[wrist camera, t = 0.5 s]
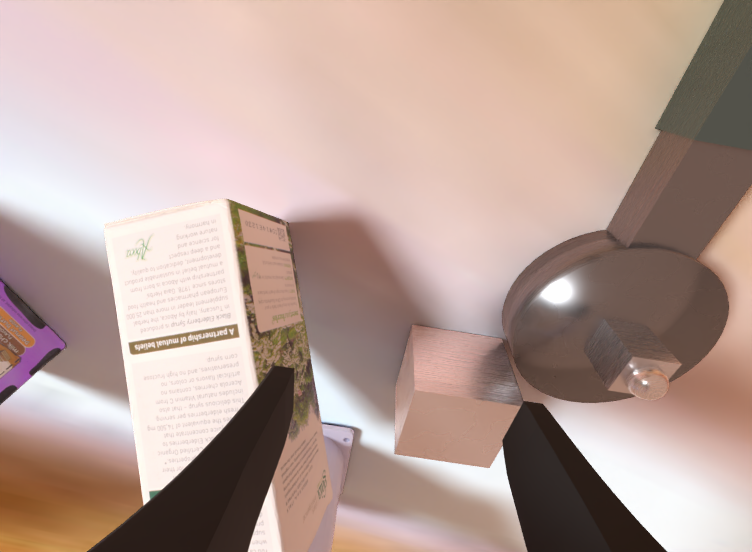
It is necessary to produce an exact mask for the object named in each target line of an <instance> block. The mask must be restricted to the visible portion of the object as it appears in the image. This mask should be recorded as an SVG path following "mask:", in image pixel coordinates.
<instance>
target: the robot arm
mask: <svg viewBox="0 0 752 552" xmlns="http://www.w3.org/2000/svg"><path fill="white" fill-rule="evenodd" d="M294 372H295V368H289V367H282V366H273V367H272V368H271V369H270V370H269V372H268V373H267V375H266V376H265V378H264V379H263V380H262V382H261V383H260V384H259V386H258V387H257V388H256V390H255V391H254V392H253V393H252V395H251V396H250V397H249V398H248V400H247V401H246V402H245V403H244V405H243V406H242V407H241V408H240V409H239V411H238V412H237V413H236V414H235V415H234V416H233V418H232V419H231V420H230V421H229V422H228V423H227V425H226V426H225V427H224V428H223V429H222V430H221V431H220V432H219V433H218V434H217V435H216V437H215V438H214V439H213V440H212V441H211V442H210V443H209V444H208V445H207V446H206V447H205V448H204V449H203V450H202V451H201V452H200V453H199V454H198V456H197V457H196V458H195V459H193V460H192V461H191V462H190V463H189V464H188V465H187V466H186V467H185V468H184V469H183V470H182V471H181V472H180V473H179V474H178V475H177V476H176V477H175V478H174V479H173V480H172V481H171V482H170V483H168V484H167V485H166V486H165V487H164V488H163V489H162V490H161V491H160V492H158V493H157V494H156V495H155V496H154V497H153V498H152V499H151V500H149V501H148V502H147V503H146V504H145V505H144V506H143V507H141V508H140V509H139V510H138V511H137V512H136V513H134V514H133V515H132V516H131V517H130V518H129V519H127V520H126V521H125V522H124V523H123V524H121V525H120V526H119V527H118V528H116V529H115V530H114V531H113V532H111V533H110V534H109V535H107V536H106V537H105V538H104V539H102V540H101V541H100V542H99V543H97V544H96V545H95V546H94V547H92V548H91V549H90V550H88V551H87V552H248V549H249V546H250V542H251V539H252V536H253V532H254V529H255V526H256V523H257V520H258V517H259V515H260V512H261V509H262V506H263V504H264V501H265V498H266V495H267V493H268V490H269V487H270V484H271V482H272V479H273V476H274V473H275V471H276V468H277V465H278V462H279V460H280V457H281V454H282V451H283V448H284V446H285V442H286V438H287V435H288V431H289V427H290V423H291V419H292V415H293V408H294ZM322 430H323V436H324V442H325V449H326V454H327V461H328V467H329V473H330V480H331V486H332V491H333V496H332V497H333V498H332V500H331V502H330V504H329V505H328V506H327V508H326V510H325V513H324V515H323V518H322V520H321V523H320V526H319V528H318V530H317V532H316V535H315V538H314V539H313V541H312V543H311V545H310V547H309V549H308V551H307V552H331V549H332V542H333V535H334V528H335V521H336V514H337V506H338V499H339V495H340V494H342V493H343V488H344V483H345V478H346V473H347V468H348V463H349V458H350V453H351V448H352V443H353V438H354V431H353V430H352V429H351V428H346V427H339V426H332V425H326V424H322ZM502 442H503V450H504V458H505V464H506V470H507V476H508V480H509V484H510V488H511V492H512V495H513V499H514V503H515V507H516V510H517V514H518V518H519V522H520V525H521V529H522V533H523V536H524V540H525V544H526V548H527V551H528V552H667V551H666V550H665V549H664V548H663V547H662V546H661V545H660V544H659V543H658V542H657V541H656V540H655V539H654V538H653V536H652V535H651V534H650V533H649V532H648V531H647V530H646V529H645V528H644V527H643V526H642V525H641V524H640V523H639V521H638V520H637V519H636V518H635V517H634V516H633V515H632V514H631V512H630V511H629V510H628V509H627V508H626V507H625V506H624V504H623V503H622V502H621V501H620V500H619V499H618V498H617V496H616V495H615V494H614V493H613V492H612V491H611V489H610V488H609V487H608V486H607V485H606V483H605V482H604V481H603V480H602V479H601V477H600V476H599V475H598V474H597V472H596V471H595V470H594V469H593V467H592V466H591V465H590V464H589V462H588V461H587V460H586V459H585V457H584V456H583V455H582V454H581V452H580V451H579V450H578V448H577V447H576V446H575V445H574V443H573V442H572V441H571V439H570V438H569V437H568V436H567V434H566V433H565V432H564V430H563V429H562V428H561V426H560V425H559V424H558V423H557V421H556V420H555V419H554V417H553V416H552V415H551V413H550V412H549V411H548V410H547V408H546V407H545V406H544V405H543V404H540V403H533V402H526V401H524V402H523V403H522V405H521V407H520V409H519V411H518V413H517V414H516V416H515V418H514V420H513V422H512V423H511V425H510V427H509V429H508V431H507V432H506V434H505V436H504V438H503V440H502Z"/></svg>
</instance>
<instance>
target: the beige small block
mask: <svg viewBox="0 0 752 552" xmlns="http://www.w3.org/2000/svg"><path fill="white" fill-rule="evenodd" d="M523 402H524V401H523V399H522V396H521V393H520V390H519V387H518V384H517V381H516V379H515V376H514V373H513V370H512V367H511V364H510V361H509V358H508V356H507V353H506V350H505V347H504V344H503V341H502V339H501V338H494V337H488V336H482V335H476V334H469V333H463V332H457V331H450V330H444V329H438V328H432V327H425V326H419V325H413V324H412V327H411V331H410V335H409V338H408V342H407V346H406V349H405V353H404V357H403V360H402V364H401V368H400V371H399V375H398V379H397V382H396V394H395V452H394V454H397V455H404V456H411V457H418V458H425V459H431V460H438V461H445V462H452V463H458V464H465V465H472V466H479V467H486V468H490V466H491V464H492V463H493V461H494V459H495V457H496V456H497V454H498V452H499V451H500V449H501V447H502V446H503V442H502V440H503V438H504V436H505V434H506V432H507V431H508V429H509V427H510V425H511V423H512V422H513V420H514V418H515V416H516V414H517V413H518V411H519V409H520V407H521V405H522V403H523Z"/></svg>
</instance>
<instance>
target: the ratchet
mask: <svg viewBox="0 0 752 552" xmlns="http://www.w3.org/2000/svg"><path fill="white" fill-rule="evenodd" d="M656 129H659V130H661V132H660V134H659V136H658V137H657V139H656V141H655V143H654V145H653V146H652V148H651V150H650V152H649V154H648V155H647V157H646V159H645V161H644V163H643V165H642V166H641V168H640V170H639V172H638V174H637V175H636V177H635V179H634V181H633V183H632V184H631V186H630V188H629V190H628V192H627V193H626V195H625V197H624V199H623V201H622V203H621V204H620V206H619V208H618V210H617V212H616V213H615V215H614V217H613V219H612V221H611V222H610V224H609V226H608V228H607V230H601V231H596V232H592V233H587V234H584V235H581V236H578V237H575V238H572V239H570V240H567V241H565V242H563V243H561V244H559V245H557V246H555V247H553V248H552V249H550V250H548V251H546V252H545V253H544V254H542V255H541V256H540V257H538V258H537V259H535V260H534V261H533V262H532V263H531V264H530V265H529V266H528V267H526V269H525V270H524V271H523V272H522V273H521V274H520V275H519V276H518V278H517V279H516V281H515V282H514V283H513V285H512V286H511V288H510V290H509V292H508V294H507V297H506V299H505V302H504V306H503V311H502V324H503V330H504V333H505V336H506V338H507V341H508V344H509V346H510V349H511V352H512V355H513V357H514V360H515V363H516V366H517V368H518V370H519V372H520V373H521V375H522V376H523V377H524V378H525V380H526V381H527V382H528V383H529V384H531V385H532V386H533V387H534V388H536V389H538V390H539V391H541V392H543V393H545V394H547V395H549V396H552V397H555V398H558V399H562V400H567V401H573V402H582V403H598V402H610V401H617V400H622V399H627V398H631V397H634V396H636V397H638V398H641V399H644V400H657V399H660V398H662V397H663V396H664V395H665V394H666V393H667V392H668V389H669V383H670V382H671V381H673V380H675V379H677V378H678V377H680V376H681V375H683V374H684V373H686V372H687V371H689V370H690V369H691V368H693V367H694V366H695V365H696V364H698V363H699V362H700V361H701V360H702V359H703V358H704V357H705V356H706V355H707V354H708V353H709V351H710V350H711V349H712V348H713V347H714V345H715V344H716V342H717V341H718V339H719V338H720V336H721V334H722V332H723V330H724V327H725V325H726V321H727V317H728V310H729V302H728V296H727V293H726V290H725V288H724V286H723V284H722V282H721V281H720V280H719V278H718V277H717V276H716V275H715V274H714V273H713V272H712V271H711V270H710V269H708V268H707V267H706V266H704V265H703V264H701V263H700V262H699V261H697V260H696V259H697V258H698V256H699V255H700V254H701V252H702V251H703V249H704V248H705V247H706V245H707V244H708V243H709V241H710V240H711V239H712V237H713V236H714V235H715V233H716V232H717V231H718V229H719V228H720V226H721V225H722V224H723V222H724V221H725V220H726V218H727V217H728V216H729V214H730V213H731V212H732V210H733V209H734V208H735V206H736V205H737V203H738V202H739V201H740V199H741V198H742V197H743V195H744V194H745V193H746V191H747V190H748V189H749V187H750V186H751V185H752V0H724V2H723V4H722V6H721V8H720V10H719V11H718V13H717V15H716V17H715V19H714V21H713V22H712V24H711V26H710V28H709V30H708V32H707V34H706V35H705V37H704V39H703V41H702V43H701V45H700V46H699V48H698V50H697V52H696V54H695V56H694V58H693V59H692V61H691V63H690V65H689V67H688V69H687V70H686V72H685V74H684V76H683V78H682V80H681V81H680V83H679V85H678V87H677V89H676V91H675V93H674V94H673V96H672V98H671V100H670V102H669V104H668V105H667V107H666V109H665V111H664V113H663V115H662V117H661V118H660V120H659V122H658V124H657V126H656Z"/></svg>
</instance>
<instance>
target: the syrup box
mask: <svg viewBox="0 0 752 552" xmlns="http://www.w3.org/2000/svg"><path fill="white" fill-rule="evenodd" d="M104 236H105V242H106V249H107V255H108V262H109V267H110V273H111V279H112V286H113V292H114V298H115V305H116V312H117V319H118V326H119V333H120V339H121V345H122V353H123V360H124V367H125V374H126V381H127V388H128V395H129V402H130V409H131V417H132V423H133V430H134V438H135V445H136V453H137V461H138V468H139V475H140V482H141V490H142V497H143V504H144V505H145V504H146V503H147V502H148V501H149V500H151V499H152V498H153V497H154V496H155V495H156V494H157V493H158V492H160V491H161V490H162V489H163V488H164V487H165V486H166V485H167V484H168V483H170V482H171V481H172V480H173V479H174V478H175V477H176V476H177V475H178V474H179V473H180V472H181V471H182V470H183V469H184V468H185V467H186V466H187V465H188V464H189V463H190V462H191V461H192V460H193V459H195V458H196V457H197V456H198V454H199V453H200V452H201V451H202V450H203V449H204V448H205V447H206V446H207V445H208V444H209V443H210V442H211V441H212V440H213V439H214V438H215V437H216V435H217V434H218V433H219V432H220V431H221V430H222V429H223V428H224V427H225V426H226V425H227V423H228V422H229V421H230V420H231V419H232V418H233V416H234V415H235V414H236V413H237V412H238V411H239V409H240V408H241V407H242V406H243V405H244V403H245V402H246V401H247V400H248V398H249V397H250V396H251V395H252V393H253V392H254V391H255V390H256V388H257V387H258V386H259V384H260V383H261V382H262V380H263V379H264V378H265V376H266V375H267V373H268V372H269V370H270V369H271V368H272V367H273V366H282V367H289V368H295V372H294V408H293V415H292V419H291V423H290V427H289V431H288V435H287V438H286V442H285V446H284V448H283V451H282V454H281V457H280V460H279V462H278V465H277V468H276V471H275V473H274V476H273V479H272V482H271V484H270V487H269V490H268V493H267V495H266V498H265V501H264V504H263V506H262V509H261V512H260V515H259V517H258V520H257V523H256V526H255V529H254V532H253V536H252V539H251V542H250V546H249V549H248V552H307V551H308V549H309V547H310V545H311V543H312V541H313V539H314V538H315V535H316V532H317V530H318V528H319V526H320V523H321V520H322V518H323V515H324V513H325V510H326V508H327V506H328V505H329V504H330V502H331V500H332V498H333V497H332V496H333V491H332V486H331V480H330V473H329V467H328V461H327V454H326V449H325V442H324V436H323V430H322V424H321V418H320V411H319V405H318V399H317V394H316V388H315V382H314V376H313V370H312V364H311V358H310V351H309V345H308V338H307V334H306V327H305V321H304V314H303V308H302V302H301V296H300V290H299V283H298V279H297V272H296V267H295V261H294V254H293V248H292V242H291V236H290V230H289V223H288V222H286V221H284V220H281V219H279V218H276V217H273V216H271V215H268V214H266V213H263V212H261V211H258V210H255V209H253V208H250V207H248V206H245V205H242V204H240V203H237V202H235V201H232V200H229V199H218V200H211V201H204V202H198V203H191V204H187V205H182V206H177V207H173V208H168V209H163V210H159V211H155V212H151V213H146V214H142V215H138V216H134V217H130V218H126V219H122V220H118V221H115V222H111V223H106V224H105V228H104Z"/></svg>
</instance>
